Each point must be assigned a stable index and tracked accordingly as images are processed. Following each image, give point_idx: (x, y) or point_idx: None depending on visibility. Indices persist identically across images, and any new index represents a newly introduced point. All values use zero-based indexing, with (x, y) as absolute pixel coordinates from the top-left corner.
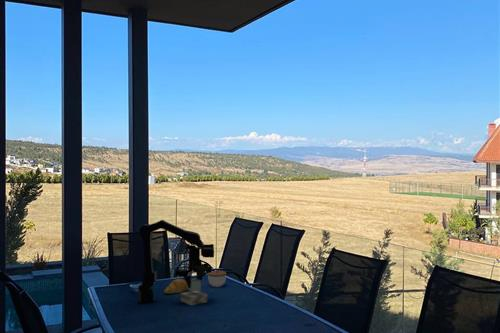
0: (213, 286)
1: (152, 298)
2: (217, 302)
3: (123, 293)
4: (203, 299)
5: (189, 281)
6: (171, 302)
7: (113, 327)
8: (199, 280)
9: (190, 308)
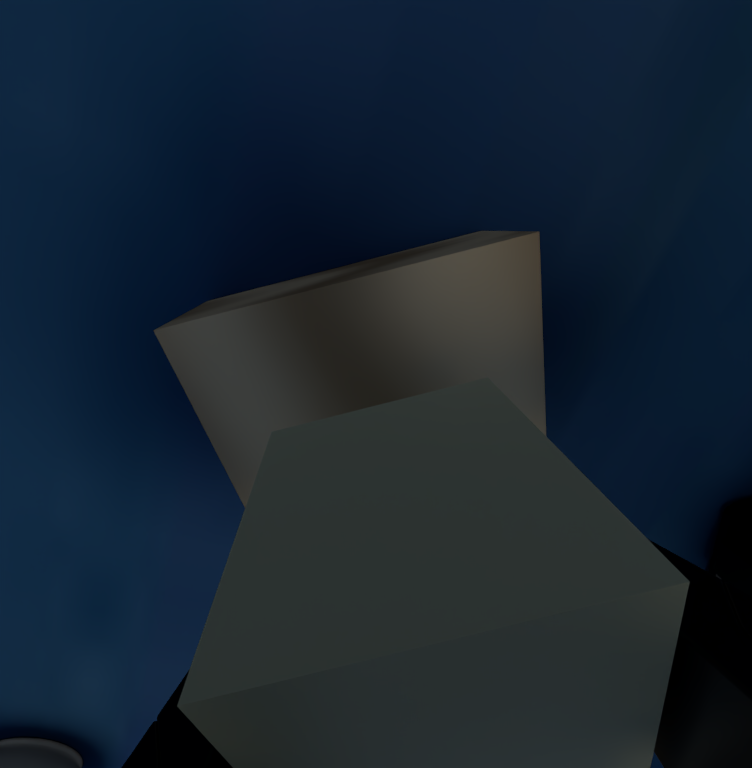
0: (66, 751)
1: (740, 545)
2: (43, 216)
3: None
4: (263, 291)
5: (749, 630)
6: (606, 438)
7: None
8: (256, 682)
9: (551, 56)
